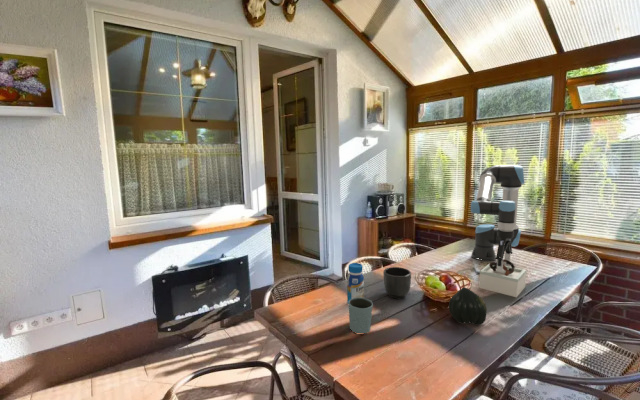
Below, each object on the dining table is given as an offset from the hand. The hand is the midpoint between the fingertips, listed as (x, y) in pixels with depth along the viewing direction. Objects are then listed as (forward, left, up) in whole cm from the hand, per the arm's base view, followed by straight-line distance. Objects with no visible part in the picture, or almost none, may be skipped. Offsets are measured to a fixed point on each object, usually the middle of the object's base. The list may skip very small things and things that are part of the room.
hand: (503, 268), depth 173 cm
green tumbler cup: (+86, -31, -11) cm, 92 cm away
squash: (+49, -1, -11) cm, 50 cm away
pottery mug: (0, -1, -3) cm, 3 cm away
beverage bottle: (+69, -47, -11) cm, 84 cm away
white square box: (0, 0, -11) cm, 11 cm away
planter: (+47, -37, -11) cm, 61 cm away
